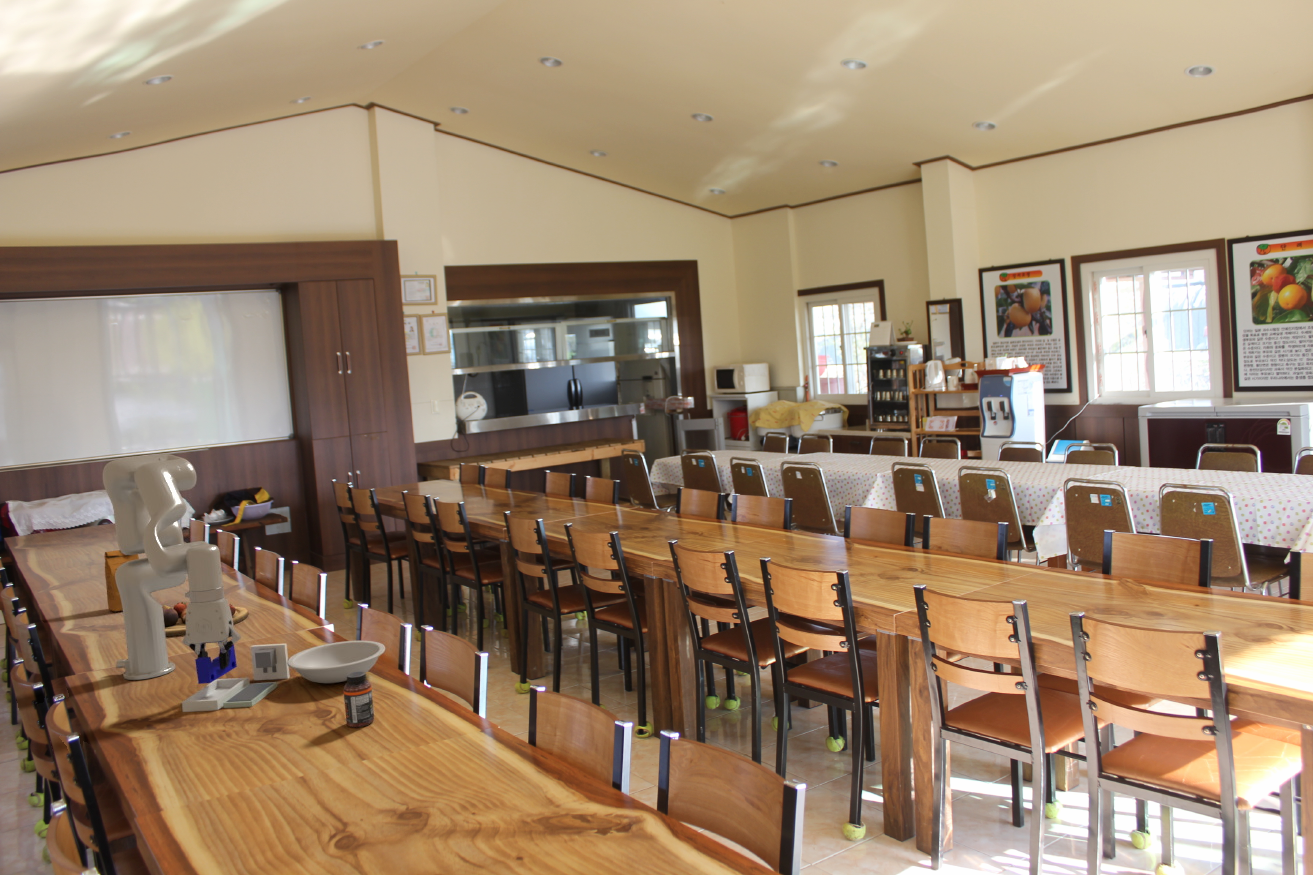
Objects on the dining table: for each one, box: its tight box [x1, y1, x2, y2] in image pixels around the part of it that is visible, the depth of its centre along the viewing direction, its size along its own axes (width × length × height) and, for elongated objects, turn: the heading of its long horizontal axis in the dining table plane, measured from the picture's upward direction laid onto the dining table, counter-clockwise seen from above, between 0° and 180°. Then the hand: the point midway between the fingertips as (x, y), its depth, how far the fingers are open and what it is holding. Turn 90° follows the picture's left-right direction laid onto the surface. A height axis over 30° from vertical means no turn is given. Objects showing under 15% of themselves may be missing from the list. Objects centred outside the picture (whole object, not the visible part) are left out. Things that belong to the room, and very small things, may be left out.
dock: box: [181, 677, 251, 713], centre depth 235 cm, size 9×17×2 cm, turn 178°
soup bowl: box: [287, 640, 386, 684], centre depth 245 cm, size 24×24×7 cm
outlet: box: [250, 643, 291, 681], centre depth 247 cm, size 9×4×9 cm, turn 88°
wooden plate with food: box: [162, 602, 250, 637], centre depth 314 cm, size 32×32×8 cm
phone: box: [222, 681, 278, 709], centre depth 235 cm, size 7×14×1 cm, turn 178°
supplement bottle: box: [343, 671, 375, 728], centre depth 211 cm, size 6×6×11 cm
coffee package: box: [103, 549, 140, 612], centre depth 343 cm, size 10×12×22 cm
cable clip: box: [194, 644, 238, 685], centre depth 234 cm, size 12×4×6 cm, turn 174°
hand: (214, 667), depth 234 cm, fingers closed on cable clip, 4 cm apart
